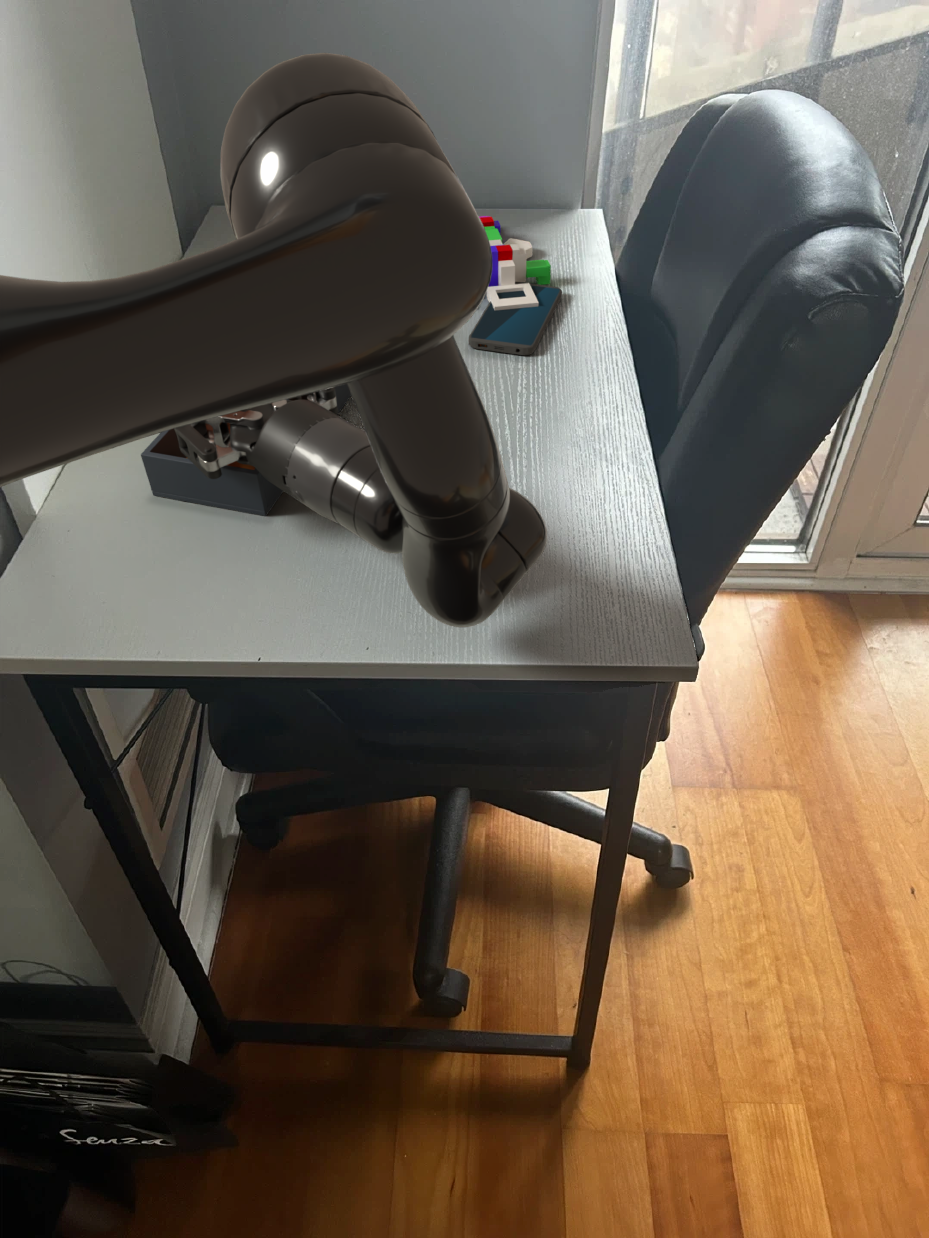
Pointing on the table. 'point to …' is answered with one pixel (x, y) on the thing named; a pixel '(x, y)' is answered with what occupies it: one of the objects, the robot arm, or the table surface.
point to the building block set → (512, 269)
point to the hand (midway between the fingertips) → (204, 389)
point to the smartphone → (516, 323)
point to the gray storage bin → (230, 491)
